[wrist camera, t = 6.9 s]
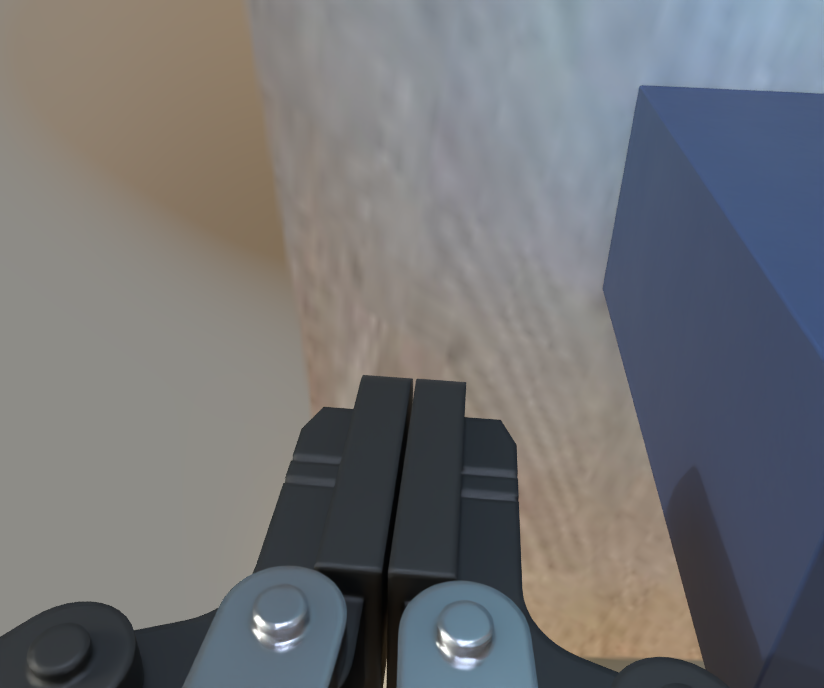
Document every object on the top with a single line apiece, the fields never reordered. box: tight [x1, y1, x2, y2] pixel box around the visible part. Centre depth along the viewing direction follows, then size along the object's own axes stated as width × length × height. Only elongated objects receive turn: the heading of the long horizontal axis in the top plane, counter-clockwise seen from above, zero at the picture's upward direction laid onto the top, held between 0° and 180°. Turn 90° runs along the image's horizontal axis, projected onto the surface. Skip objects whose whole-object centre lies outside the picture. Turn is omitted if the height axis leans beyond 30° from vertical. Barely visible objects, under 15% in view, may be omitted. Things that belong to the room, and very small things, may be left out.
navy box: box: [603, 85, 824, 688], centre depth 14 cm, size 5×6×13 cm
